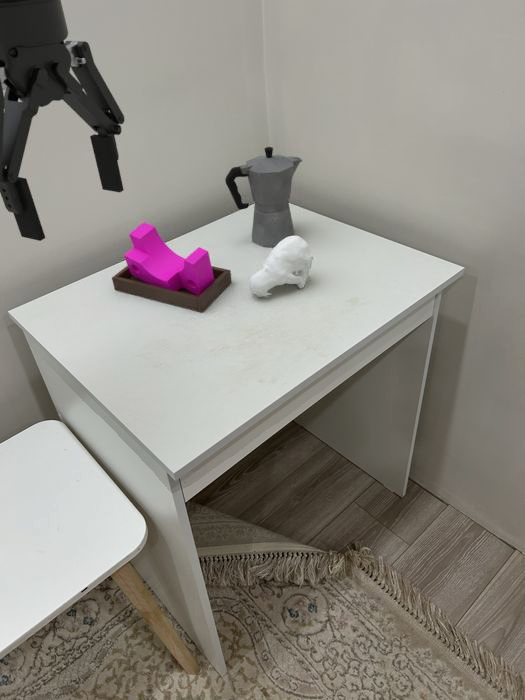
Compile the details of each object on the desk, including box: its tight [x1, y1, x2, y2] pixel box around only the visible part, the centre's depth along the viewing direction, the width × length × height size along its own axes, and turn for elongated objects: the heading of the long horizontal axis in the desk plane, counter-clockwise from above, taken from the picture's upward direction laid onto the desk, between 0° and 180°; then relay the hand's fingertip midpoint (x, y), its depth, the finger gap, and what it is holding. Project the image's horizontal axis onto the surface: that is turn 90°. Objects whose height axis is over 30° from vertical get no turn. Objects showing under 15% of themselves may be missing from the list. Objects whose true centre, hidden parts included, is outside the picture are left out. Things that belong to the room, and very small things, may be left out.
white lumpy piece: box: [248, 235, 314, 298], centre depth 93 cm, size 6×8×12 cm
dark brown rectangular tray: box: [111, 265, 232, 313], centre depth 97 cm, size 19×10×3 cm, turn 63°
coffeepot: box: [224, 146, 303, 248], centre depth 104 cm, size 15×9×18 cm, turn 113°
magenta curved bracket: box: [123, 221, 215, 296], centre depth 94 cm, size 15×6×8 cm, turn 53°
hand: (76, 212), depth 63 cm, fingers open, 13 cm apart
